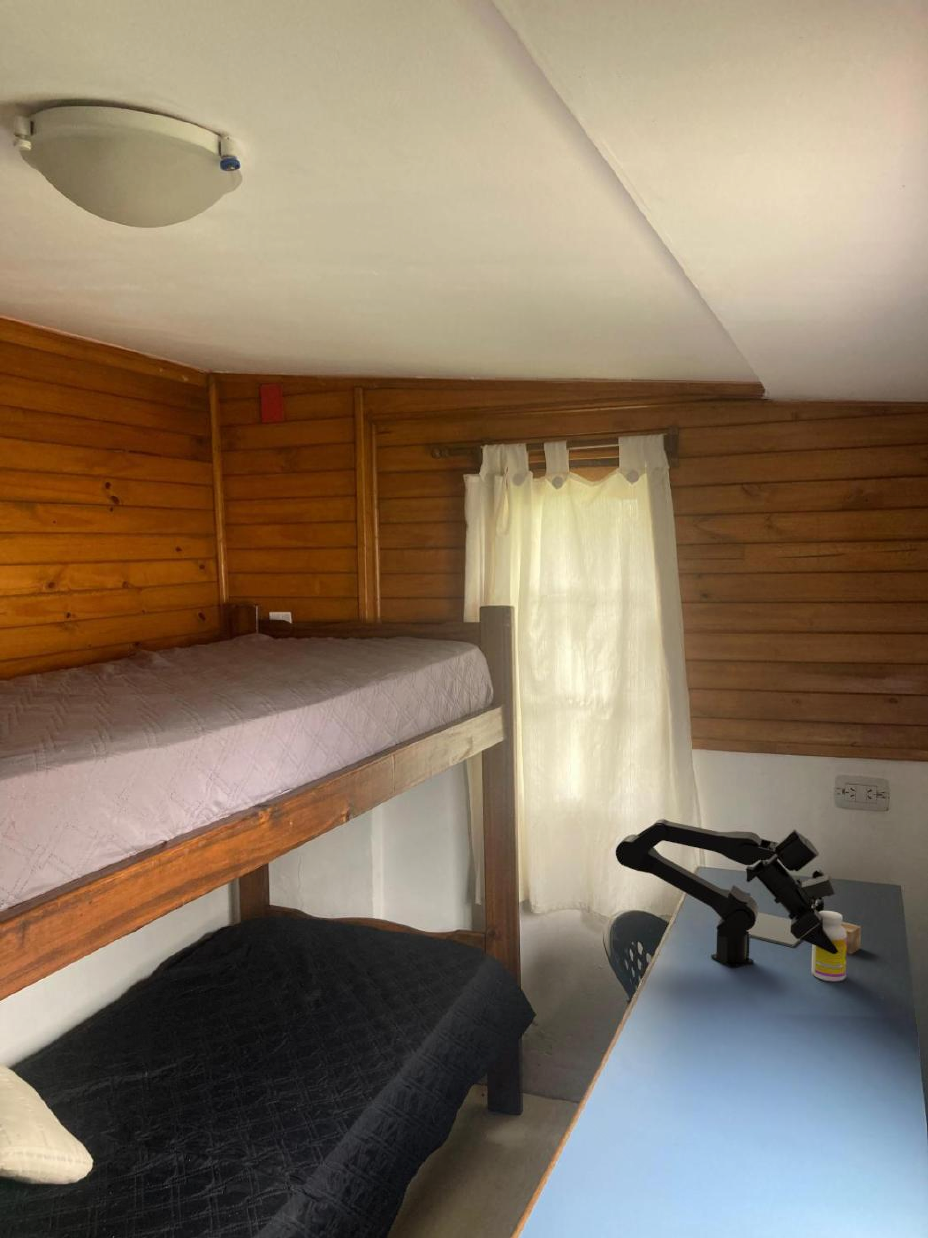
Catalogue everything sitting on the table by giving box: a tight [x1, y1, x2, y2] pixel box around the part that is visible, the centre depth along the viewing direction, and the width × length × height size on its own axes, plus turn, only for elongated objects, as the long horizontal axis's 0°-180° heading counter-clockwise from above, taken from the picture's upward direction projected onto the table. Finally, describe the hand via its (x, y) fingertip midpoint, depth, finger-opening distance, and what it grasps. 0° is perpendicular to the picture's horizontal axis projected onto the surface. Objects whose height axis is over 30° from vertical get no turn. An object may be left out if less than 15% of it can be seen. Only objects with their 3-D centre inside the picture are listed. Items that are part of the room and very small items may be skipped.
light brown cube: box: [841, 921, 862, 955], centre depth 210 cm, size 5×5×5 cm
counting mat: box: [746, 911, 802, 948], centre depth 221 cm, size 16×16×1 cm
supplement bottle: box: [811, 910, 847, 982], centre depth 194 cm, size 7×7×13 cm
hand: (836, 945), depth 194 cm, fingers open, 9 cm apart
